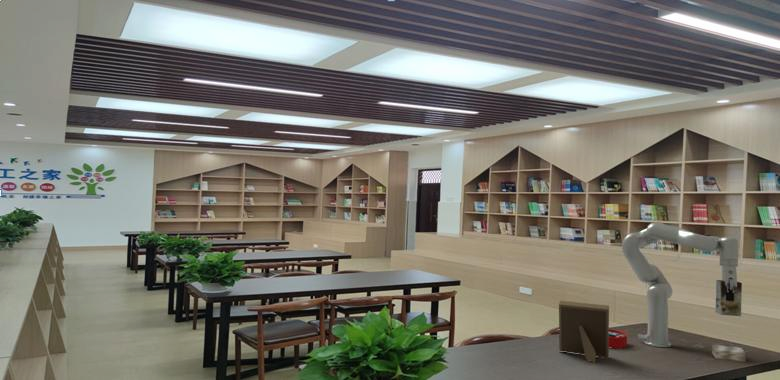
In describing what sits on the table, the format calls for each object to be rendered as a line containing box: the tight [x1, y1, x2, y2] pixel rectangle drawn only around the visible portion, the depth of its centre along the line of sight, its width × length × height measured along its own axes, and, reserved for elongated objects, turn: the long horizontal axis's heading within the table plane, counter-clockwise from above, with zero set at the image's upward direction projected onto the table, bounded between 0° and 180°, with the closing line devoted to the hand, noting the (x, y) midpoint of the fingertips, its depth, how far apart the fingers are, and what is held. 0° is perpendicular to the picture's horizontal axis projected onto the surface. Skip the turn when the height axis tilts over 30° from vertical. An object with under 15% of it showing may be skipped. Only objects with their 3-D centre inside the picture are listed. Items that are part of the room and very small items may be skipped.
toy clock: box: [609, 328, 628, 349], centre depth 274 cm, size 20×6×20 cm
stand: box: [711, 344, 747, 363], centre depth 254 cm, size 12×11×4 cm
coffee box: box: [715, 279, 743, 317], centre depth 255 cm, size 9×6×16 cm
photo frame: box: [558, 300, 610, 363], centre depth 246 cm, size 15×22×25 cm
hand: (728, 299), depth 255 cm, fingers closed on coffee box, 7 cm apart
